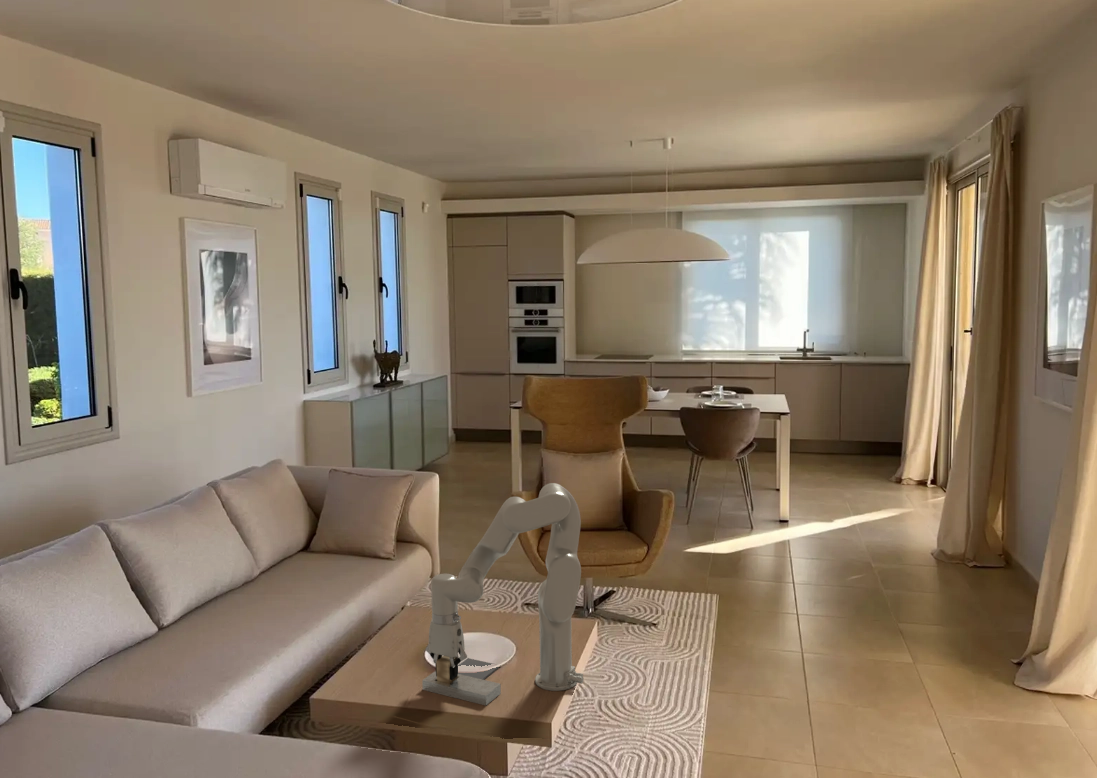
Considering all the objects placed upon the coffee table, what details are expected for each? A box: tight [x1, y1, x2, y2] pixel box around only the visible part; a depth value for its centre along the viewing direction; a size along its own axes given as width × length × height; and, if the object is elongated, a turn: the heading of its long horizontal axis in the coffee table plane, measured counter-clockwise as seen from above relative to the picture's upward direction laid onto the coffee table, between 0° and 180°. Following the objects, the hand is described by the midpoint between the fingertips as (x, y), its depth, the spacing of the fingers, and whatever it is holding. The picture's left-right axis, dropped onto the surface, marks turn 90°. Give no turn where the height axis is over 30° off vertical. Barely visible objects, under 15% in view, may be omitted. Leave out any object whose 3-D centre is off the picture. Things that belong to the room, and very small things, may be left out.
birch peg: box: [436, 655, 457, 684], centre depth 248 cm, size 4×4×9 cm
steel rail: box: [421, 670, 502, 706], centre depth 246 cm, size 22×8×3 cm, turn 62°
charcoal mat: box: [458, 657, 500, 680], centre depth 260 cm, size 12×12×1 cm
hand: (446, 675), depth 248 cm, fingers closed on birch peg, 4 cm apart
